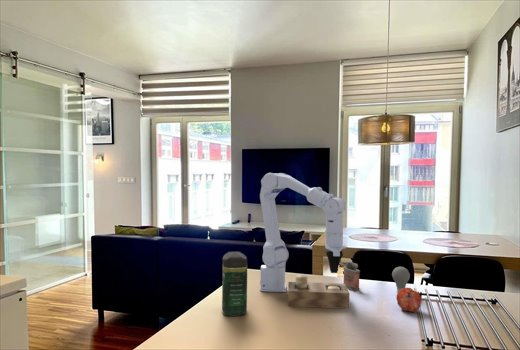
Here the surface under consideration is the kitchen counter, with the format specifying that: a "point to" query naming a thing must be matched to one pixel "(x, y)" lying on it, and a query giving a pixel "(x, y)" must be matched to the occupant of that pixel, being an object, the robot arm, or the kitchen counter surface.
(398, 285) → the light bulb
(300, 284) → the left peg
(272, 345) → the kitchen counter surface
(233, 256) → the coffee jar
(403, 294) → the pomegranate
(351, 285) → the red ornate tin
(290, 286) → the wooden block with recesses
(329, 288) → the right peg
